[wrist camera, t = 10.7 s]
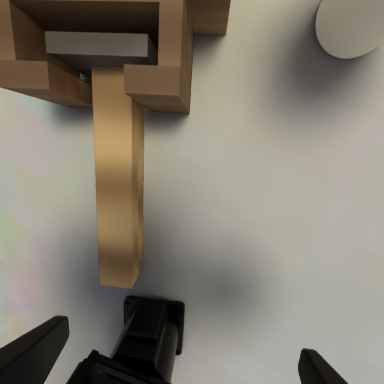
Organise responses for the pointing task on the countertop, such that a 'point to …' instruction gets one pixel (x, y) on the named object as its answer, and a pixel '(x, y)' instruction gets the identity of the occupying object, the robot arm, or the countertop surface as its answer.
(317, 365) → the robot arm
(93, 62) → the hammer
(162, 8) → the walnut box
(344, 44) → the white cylinder
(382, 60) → the countertop surface
